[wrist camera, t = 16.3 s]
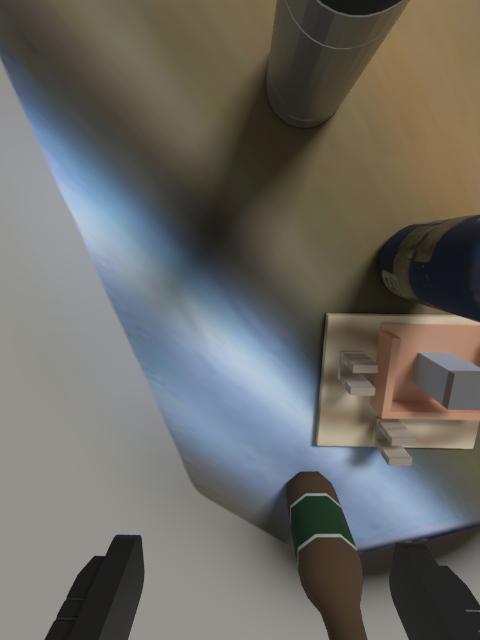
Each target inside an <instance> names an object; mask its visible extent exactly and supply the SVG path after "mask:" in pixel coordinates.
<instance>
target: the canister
mask: <svg viewBox="0 0 480 640" xmlns="http://www.w3.org/2000/svg"><path fill="white" fill-rule="evenodd" d="M379 273H380V277H381V279H382V281H383V283H384V285H385V286H386V287H387V288H388V289H389V290H390V291H391V292H392V293H394V294H395V295H397V296H400V297H403V298H407V299H410V300H413V301H415V302H418V303H421V304H424V305H426V306H429V307H432V308H435V309H439V310H442V311H446V312H449V313H452V314H455V315H458V316H461V317H464V318H467V319H470V320H473V321H476V322H479V323H480V215H474V216H465V217H458V218H454V219H448V220H440V221H432V222H424V223H418V224H413V225H410V226H408V227H405V228H403V229H401V230H400V231H398V232H397V233H396V234H395V235H393V236H392V237H391V238H390V239H389V241H388V242H387V243H386V245H385V247H384V248H383V251H382V253H381V256H380V260H379Z"/></svg>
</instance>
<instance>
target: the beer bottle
mask: <svg viewBox="0 0 480 640" xmlns="http://www.w3.org/2000/svg"><path fill="white" fill-rule="evenodd" d="M287 506H288V513H289V519H290V525H291V531H292V537H293V543H294V549H295V555H296V561H297V566H298V572H299V576H300V580H301V584H302V587H303V589H304V591H305V593H306V595H307V597H308V599H309V600H310V601H311V602H312V603H313V605H314V606H315V607H316V608H317V609H318V611H319V612H320V613H321V615H322V618H323V621H324V623H325V626H326V629H327V632H328V636H329V639H330V640H367V636H366V633H365V629H364V625H363V621H362V617H361V610H360V601H361V594H362V584H363V583H362V582H363V579H362V565H361V562H360V558H359V555H358V551H357V549H356V546H355V543H354V541H353V538H352V535H351V533H350V530H349V527H348V524H347V522H346V519H345V516H344V514H343V511H342V508H341V506H340V503H339V500H338V498H337V495H336V492H335V490H334V488H333V486H332V484H331V483H330V482H329V481H328V480H327V479H326V478H325V477H323V476H322V475H321V474H320V473H319V472H300V473H298V474H297V475H296V476H295V477H294V478H292V479H291V480H290V481H289V482H288V483H287Z"/></svg>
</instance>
